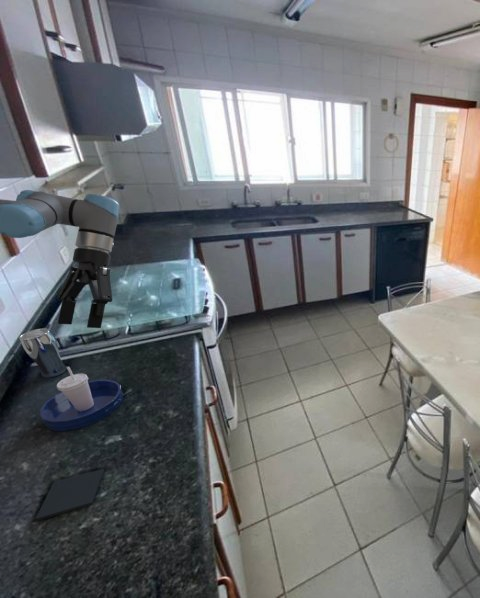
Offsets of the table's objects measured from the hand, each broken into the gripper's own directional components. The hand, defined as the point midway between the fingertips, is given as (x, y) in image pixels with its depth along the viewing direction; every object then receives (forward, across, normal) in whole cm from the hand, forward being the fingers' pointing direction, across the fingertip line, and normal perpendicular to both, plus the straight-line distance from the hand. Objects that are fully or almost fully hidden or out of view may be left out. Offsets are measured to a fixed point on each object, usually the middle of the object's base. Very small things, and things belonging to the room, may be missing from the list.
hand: (78, 326), depth 90 cm
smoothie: (+24, +5, -8) cm, 25 cm away
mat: (+36, -21, +5) cm, 43 cm away
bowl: (+24, +5, -8) cm, 26 cm away
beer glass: (+17, +31, -11) cm, 37 cm away
